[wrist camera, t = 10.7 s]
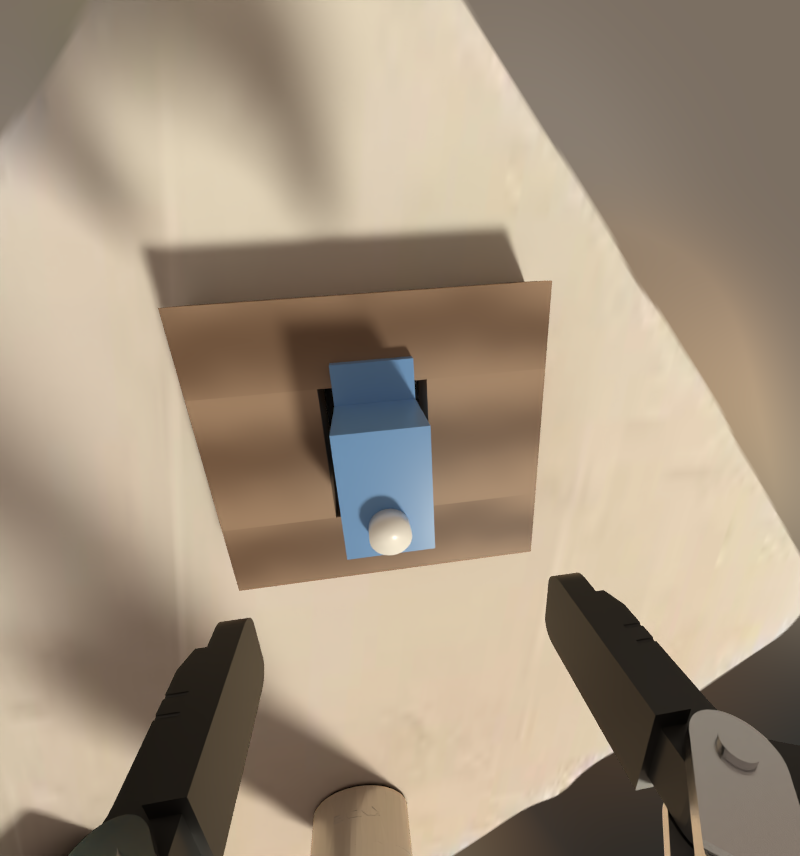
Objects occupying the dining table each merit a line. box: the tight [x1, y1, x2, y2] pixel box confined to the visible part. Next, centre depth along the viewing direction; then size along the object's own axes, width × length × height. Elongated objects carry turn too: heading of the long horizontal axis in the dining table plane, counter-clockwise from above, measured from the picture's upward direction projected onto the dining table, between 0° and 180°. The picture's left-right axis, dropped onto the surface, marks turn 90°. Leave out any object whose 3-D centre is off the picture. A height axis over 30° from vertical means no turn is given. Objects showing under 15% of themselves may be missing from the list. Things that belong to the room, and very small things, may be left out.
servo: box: [329, 356, 435, 560], centre depth 19 cm, size 10×4×8 cm, turn 4°
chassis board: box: [158, 281, 552, 591], centre depth 21 cm, size 16×18×3 cm
